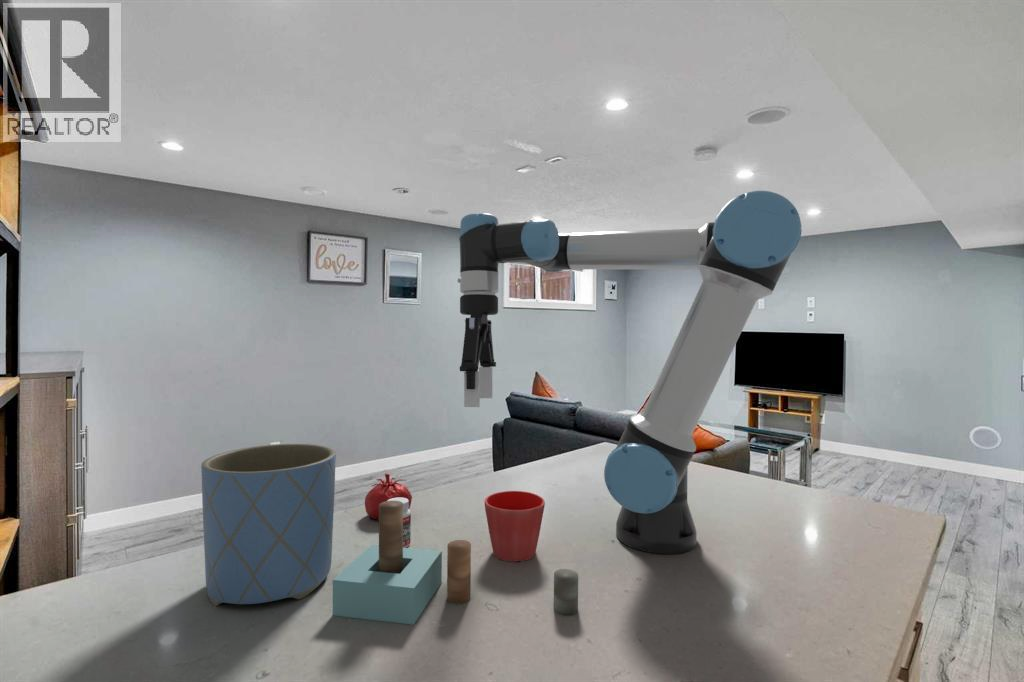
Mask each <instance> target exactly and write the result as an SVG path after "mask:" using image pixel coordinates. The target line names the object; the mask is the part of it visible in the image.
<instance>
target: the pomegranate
mask: <svg viewBox="0 0 1024 682" xmlns="http://www.w3.org/2000/svg"><path fill="white" fill-rule="evenodd" d="M390 475H391V474H390V473H389V472H386V473H384V478H385V480H384V479H382V478H376V480H377V481H381V482H379V483H374V484H373V485H372V487H373V488H371V489H370V490H369V491H368V493H366V496H365V498H364V509H365V512H366V514H367V516H368V517H369V518H372V519H375V520H377V521H379V504H380V503H382V502H386V501H388V500H389V499H392V498H397V497H402V498H407V499H408V500H409V508H408V509H409V510H410V508H411V504H412V500H413V495H412V493H411V491H409V489H408V488H407V486H406V485H404V484H401V483H400V482H399V481H400V479H397V480H396V478H395V477H392V478H390ZM393 480H395V481H393ZM402 481H403V482H404V481H407V479H406V480H405V479H402Z"/></svg>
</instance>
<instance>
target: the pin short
mask: <svg viewBox="0 0 1024 682" xmlns="http://www.w3.org/2000/svg"><path fill="white" fill-rule="evenodd" d="M553 610H554V612H555V613H556V614H558V615H561V616H564V617H565V616H566V617H569V616H573V615H575V614H577V613H578V610H579V573H578V572H577V571H576V570H573V569H570V568H561V569H557V570H555V571H554V573H553Z"/></svg>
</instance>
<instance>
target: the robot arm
mask: <svg viewBox="0 0 1024 682" xmlns="http://www.w3.org/2000/svg"><path fill="white" fill-rule="evenodd" d="M801 221H802V220H801V217H800V214H799V212H798V210H797V208H796V207H795V205H794V204H793V202H791V201H790V200H789V199H788V198H786V197H785V196H783V195H781V194H779V193H776V192H773V191H769V190H754V191H753V190H752V191H748V192H744V193H742V194H740V195H737V196H736V197H734V198H732V199H731V200H730V201H728V202H727V203H726V204H725V205H724V206H723V207H722V208H721V210H720V212H718V214H717V216H716V218H715V219H714V221H713V222H706V223H705V224H704V225H703V226H701V228H678V229H677V228H676V229H675V228H674V229H652V230H651V229H650V230H649V229H648V230H624V231H623V230H619V231H618V230H617V231H616V230H615V231H593V232H591V231H590V232H589V231H588V232H572V233H571V232H570V233H569V232H567V233H566V232H564V233H563V232H562V233H559V230H558V228H557V227H556V224H555V222H554V221H553V220H552V219H537V218H533V219H530V220H524V221H514V222H507V223H499V221H498V217H496V216H495V215H493V214H491V213H482V212H481V213H470V214H466V215H464V216H463V217H462V218H461V220H460V225H459V227H460V229H459V237H458V240H459V256H460V257H459V258H460V262H459V265H460V266H459V268H460V269H459V271H460V272H459V273H460V274H459V276H460V277H458V278H457V283H458V284H460V285H459V287H460V288H459V291H460V293H461V294H463V295H461V296H460V297H459V312H460V314H461V315H466V316H470V317H466V318H465V319H464V322H465V326H464V328H465V329H464V337H463V338H464V339H463V346H462V355H461V363H460V366H459V372H463V373H464V374H463V382H464V383H463V386H464V393H463V394H464V401H463V402H464V404H463V407H464V408H480V404H481V403H480V399H493V367H494V368H495V367H497V362H496V361H495V356H494V346H493V334H492V323H493V322H492V320H491V319H490V320H489V319H488V316H496V315H497V314H498V313H499V297H498V295H496V294H497V293H498V292H499V264H507V263H508V264H509V263H510V264H511V263H526V264H528V265H531V266H534V267H537V268H540V269H541V270H544V271H545V272H554V273H556V272H557V273H559V272H562V271H567V270H568V271H570V270H699V272H700V275H701V278H702V282H701V284H700V287H699V289H698V291H697V293H696V295H695V297H694V299H693V302H692V305H691V306H690V308H689V310H688V312H687V315H686V318H685V319H684V321H683V323H682V326H681V328H680V330H679V332H678V335H677V336H676V339H675V341H674V344H673V345H672V347H671V350H670V352H669V355H668V357H667V358H666V360H665V363H664V365H663V367H662V369H661V370H660V371H661V372H660V373H659V375H658V379H657V380H656V383H655V385H654V386H653V389H652V391H651V393H650V395H649V398H648V400H647V402H646V405H645V406H644V409H643V411H641V412H639V413H636V414H633V415H631V416H630V417H629V420H627V422H626V426H625V428H624V431H623V432H622V435H621V436H620V439H619V441H618V444H617V445H616V447H615V448H614V449H613V450H611V452H610V453H609V455H608V456H607V458H606V460H605V464H604V465H605V466H604V468H603V469H604V470H603V471H604V472H603V478H604V482H605V486H606V488H607V490H608V493H609V494H610V495H611V497H612V498H613V499H614V501H615V502H617V503H618V505H620V506H621V508H620V511H619V514H618V516H617V520H616V522H615V524H616V525H615V526H616V527H615V534H616V538H617V539H618V541H620V542H621V543H623V544H625V545H626V546H628V547H631V548H633V549H636V550H639V551H643V552H646V553H647V552H648V553H654V554H661V555H663V554H665V555H670V554H671V555H672V554H673V555H674V554H681V553H682V554H683V553H686V552H689V551H691V550H693V549H694V548H696V546H697V535H698V533H697V528H696V525H695V522H694V518H693V515H692V513H691V510H690V506H689V504H688V503H689V502H688V474H689V473H688V472H689V471H688V466H689V465H690V463H691V461H692V459H693V456H694V455H695V452H696V451H697V446H696V443H695V440H694V438H693V433H694V431H695V429H696V427H697V425H698V423H699V421H700V419H701V417H702V415H703V413H704V411H705V409H706V407H707V404H708V403H709V401H710V398H711V396H712V395H713V392H714V389H715V388H716V386H717V384H718V382H719V379H720V377H721V375H722V373H723V372H724V369H725V367H726V365H727V363H728V361H729V359H730V357H731V356H732V355H731V354H733V353H732V352H733V350H734V348H735V346H736V345H737V342H738V340H739V339H740V336H741V334H742V332H743V330H744V327H745V326H746V323H747V321H748V319H749V318H750V315H751V313H752V312H753V309H754V306H755V304H756V303H757V301H758V300H759V299H762V298H764V297H767V296H769V295H772V294H773V291H774V290H775V288H776V285H777V284H778V281H779V280H780V278H781V275H782V273H783V271H784V269H785V267H786V265H787V263H788V262H789V259H790V258H791V254H792V253H793V252H794V251H795V250H796V248H797V246H798V245H799V242H800V240H801V236H802V222H801ZM479 365H480V366H479Z"/></svg>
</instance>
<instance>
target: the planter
mask: <svg viewBox="0 0 1024 682" xmlns="http://www.w3.org/2000/svg"><path fill="white" fill-rule="evenodd" d="M336 455H337V454H336V450H334V449H333V448H331V447H328V446H324V445H319V444H312V443H310V444H309V443H280V444H279V443H278V444H266V445H257V446H250V447H244V448H243V447H242V448H238V449H233V450H229V451H225V452H221V453H218V454H214V455H213V456H210V457H208V458H206V459H205V460H203V461H202V462H201V467H200V469H201V495H202V500H201V501H202V525H203V527H202V528H203V542H204V543H203V549H204V569H205V571H204V573H205V587H206V592H207V596H208V599H209V600H210V602H211V604H212V605H214V606H215V607H218V606H220V605H221V604H222V603H225V604H232V605H233V604H234V605H255V604H263V603H270V602H273V601H279V600H284V599H289V598H294V599H295V600H297V601H299V600H302V599H304V598H306V597H307V596H308V595H310V594H311V593H312V592H313V591H314V590H315V589H316V588H317V587H318V586H320V585H321V584H322V582H323V581H324V580H325V579H326V578H327V576H328V575H329V573H330V571H331V567H332V561H333V560H332V557H333V553H332V552H333V538H334V537H333V532H334V510H335V491H336V490H335V488H336V487H335V486H336V484H335V483H336V457H337V456H336Z"/></svg>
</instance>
